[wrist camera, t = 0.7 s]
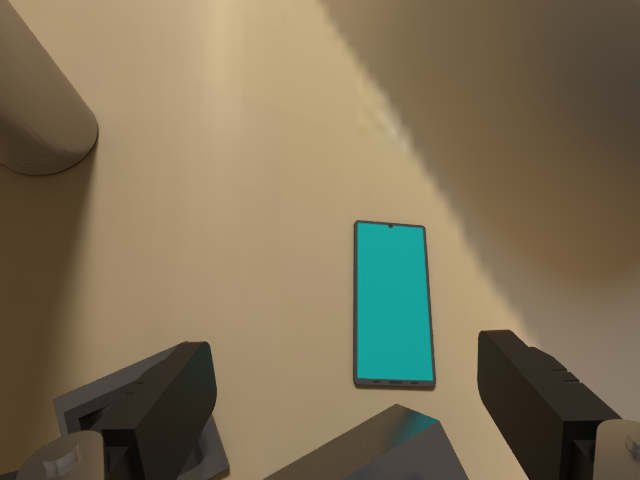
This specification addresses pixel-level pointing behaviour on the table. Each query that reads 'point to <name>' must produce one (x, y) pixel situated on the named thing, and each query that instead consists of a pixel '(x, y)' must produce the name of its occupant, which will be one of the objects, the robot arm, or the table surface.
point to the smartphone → (392, 306)
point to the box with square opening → (382, 452)
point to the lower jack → (100, 395)
